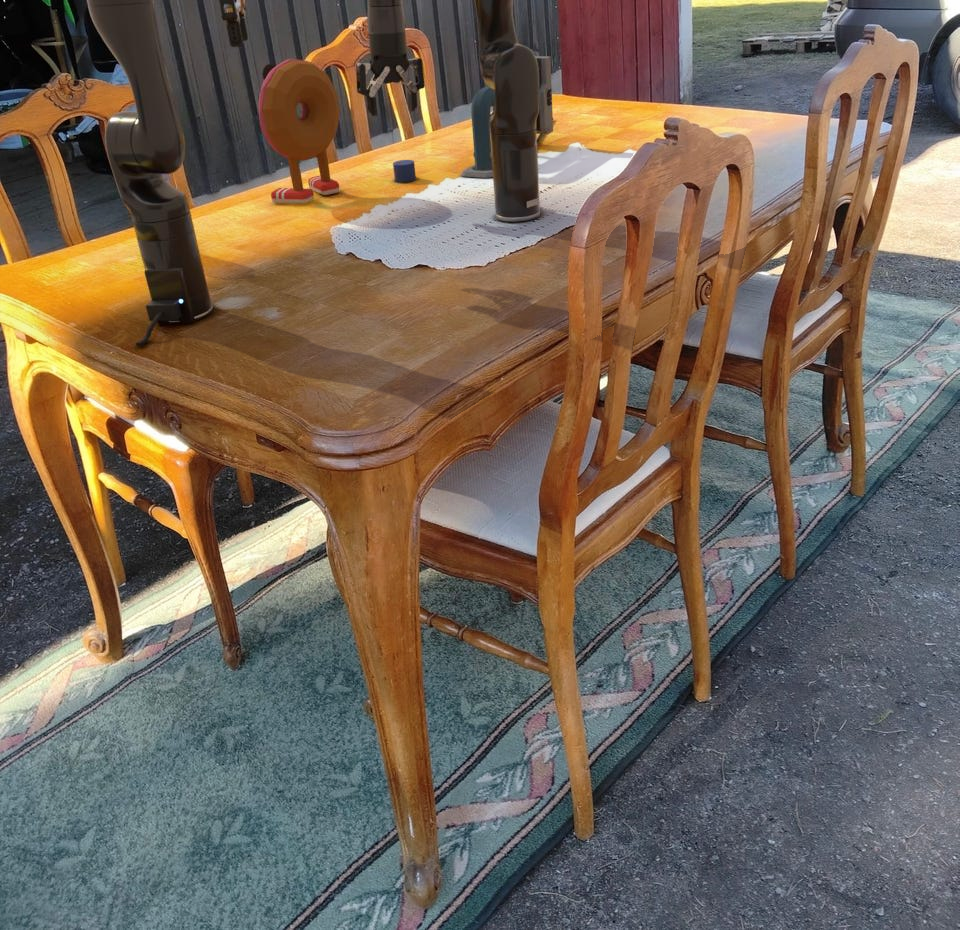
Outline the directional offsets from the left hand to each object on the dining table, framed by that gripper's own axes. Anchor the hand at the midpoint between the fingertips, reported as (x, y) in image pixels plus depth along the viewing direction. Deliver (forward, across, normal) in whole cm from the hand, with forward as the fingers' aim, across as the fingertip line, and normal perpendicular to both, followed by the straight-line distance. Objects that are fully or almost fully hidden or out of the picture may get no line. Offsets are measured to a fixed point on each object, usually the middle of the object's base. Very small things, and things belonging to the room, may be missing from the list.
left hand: (239, 43), depth 173 cm
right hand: (+19, +24, -26) cm, 40 cm away
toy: (+38, +39, -5) cm, 55 cm away
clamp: (+38, +55, -54) cm, 86 cm away
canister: (+38, +46, -27) cm, 66 cm away
